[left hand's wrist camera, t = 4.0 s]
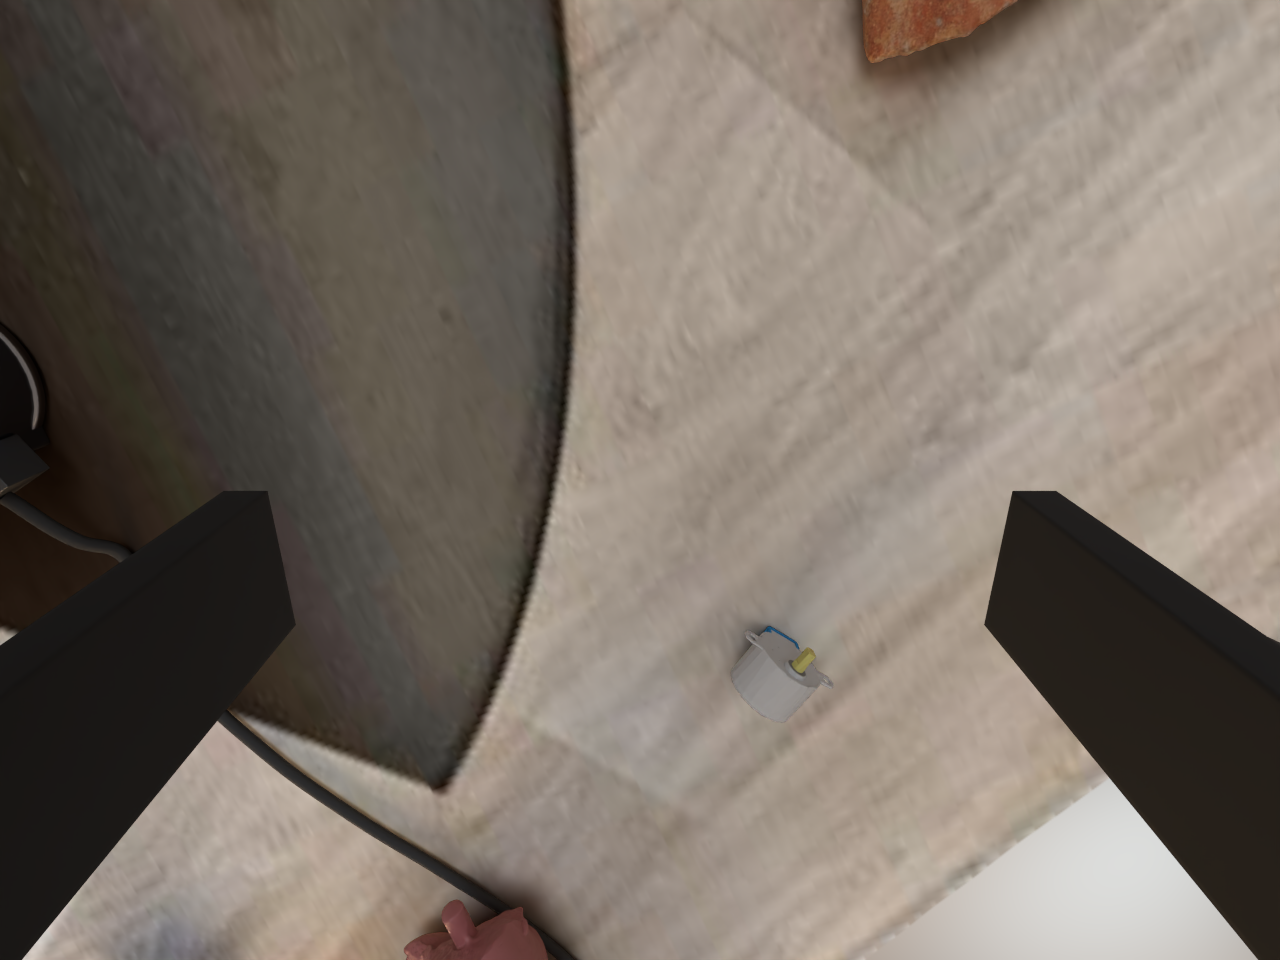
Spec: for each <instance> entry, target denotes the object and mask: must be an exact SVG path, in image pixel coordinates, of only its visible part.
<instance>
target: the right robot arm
mask: <svg viewBox="0 0 1280 960" xmlns="http://www.w3.org/2000/svg"><path fill="white" fill-rule="evenodd" d="M45 410H46V401H45V393H44V388H43V384H42V381H41V378H40V375H39V373H38V370H37V368H36V366H35V364H34V363H33V361H32V359H31V358H30V356H29V354H28V353H27V352H26V350H25V349H24V347H23V346H22V345H21V344H20V343H19V341H18V340H17V339H16V338H15V337H14V336H13V335H12V334H11V333H10V332H9V331H8V330H7V329H6V328H4V327H3V326H2V325H1V324H0V504H1V505H3V506H5V507H6V508H8V509H9V510H11V511H12V512H14V513H16V514H17V515H19V516H20V517H22V518H23V519H25V520H26V521H27V522H29V523H31V524H32V525H34V526H35V527H37V528H38V529H40V530H41V531H43V532H45V533H46V534H48V535H50V536H52V537H53V538H55V539H57V540H59V541H61V542H63V543H65V544H67V545H70V546H72V547H74V548H77V549H81V550H85V551H90V552H97V553H104V554H108V555H110V556H112V557H114V558H115V559H116V560H117V561H118V562H119V563H120V562H122V561H123V560H125V559H126V558H128V557H129V556H131V555H132V553H131V552H130V551H129V550H128V549H126V548H125V547H124V546H122V545H120V544H118V543H115V542H111V541H107V540H101V539H94V538H89V537H86V536H83V535H81V534H79V533H77V532H74V531H73V530H71V529H69V528H67V527H65V526H63V525H62V524H60V523H58V522H57V521H55V520H53V519H52V518H50V517H49V516H47V515H46V514H44V513H43V512H41V511H40V510H38V509H37V508H35V507H34V506H33V505H31V504H30V503H28V502H27V501H25V500H24V499H22V498H21V497H19V496H18V495H16V494H14V493H15V492H16V491H18V490H19V489H21V488H22V487H24V486H25V485H27V484H28V483H29V482H31V481H32V480H34V479H35V478H37V477H38V476H39V475H41V474H42V473H44V472H45V471H47V470H48V469H49V466H48V465H47V464H46V463H45V462H44V461H43V460H42V459H41V458H40V457H39V456H38V455H37V454H36V453H35V452H34V451H35V450H37V449H40V448H42V447H45V446H47V445H49V443H50V441H49V439H48V437H47V435H46V433H45V432H44V429H43V426H42V424H43V421H44V417H45ZM217 721H218V722H219V723H221V724H222V725H223V726H224V727H225V728H226V729H227V730H229V731H230V732H231V733H232V734H233V735H234V736H235V737H237V738H238V739H239V740H240V741H241V742H243V743H244V744H245V745H246V746H247V747H249V748H250V749H251V750H252V751H253V752H254V753H256V754H257V755H258V756H259V757H260V758H262V759H263V760H264V761H265V762H266V763H268V764H269V765H270V766H271V767H273V768H274V769H275V770H276V771H278V772H279V773H280V774H282V775H283V776H284V777H286V778H287V779H288V780H290V781H291V782H292V783H294V784H295V785H296V786H298V787H299V788H301V789H302V790H303V791H305V792H306V793H308V794H309V795H311V796H312V797H314V798H315V799H316V800H318V801H319V802H321V803H322V804H324V805H325V806H327V807H328V808H330V809H331V810H333V811H334V812H336V813H337V814H339V815H340V816H342V817H343V818H345V819H346V820H348V821H349V822H351V823H352V824H354V825H355V826H357V827H359V828H360V829H362V830H363V831H365V832H366V833H368V834H370V835H371V836H373V837H374V838H376V839H378V840H379V841H381V842H383V843H384V844H386V845H388V846H389V847H391V848H393V849H394V850H396V851H398V852H399V853H401V854H403V855H404V856H406V857H408V858H410V859H411V860H413V861H415V862H416V863H418V864H420V865H421V866H423V867H424V868H426V869H428V870H429V871H431V872H433V873H434V874H436V875H437V876H439V877H441V878H442V879H444V880H445V881H447V882H448V883H450V884H452V885H453V886H455V887H456V888H458V889H460V890H461V891H463V892H465V893H466V894H468V895H469V896H471V897H473V898H474V899H476V900H477V901H479V902H481V903H482V904H484V905H485V906H487V907H488V908H490V909H492V910H493V911H495V912H496V913H498V914H501V913H502V912H504V911H507V910H513V909H512V908H510V907H509V906H508V905H506V904H505V903H503V902H502V901H500V900H499V899H497V898H496V897H494V896H493V895H491V894H490V893H488V892H486V891H485V890H483V889H482V888H480V887H479V886H477V885H475V884H474V883H472V882H471V881H469V880H467V879H466V878H464V877H463V876H461V875H459V874H458V873H456V872H455V871H453V870H452V869H450V868H448V867H447V866H445V865H444V864H442V863H440V862H439V861H437V860H436V859H434V858H433V857H431V856H429V855H428V854H426V853H424V852H423V851H421V850H419V849H418V848H416V847H414V846H413V845H411V844H409V843H408V842H406V841H404V840H403V839H401V838H399V837H398V836H396V835H394V834H393V833H391V832H389V831H388V830H386V829H385V828H383V827H381V826H380V825H378V824H377V823H375V822H373V821H372V820H370V819H369V818H367V817H366V816H364V815H363V814H361V813H360V812H358V811H357V810H355V809H354V808H352V807H351V806H349V805H348V804H346V803H345V802H343V801H342V800H340V799H339V798H337V797H336V796H334V795H333V794H331V793H330V792H328V791H327V790H326V789H324V788H323V787H321V786H320V785H318V784H317V783H315V782H314V781H313V780H311V779H310V778H308V777H307V776H306V775H304V774H303V773H302V772H300V771H299V770H298V769H296V768H295V767H294V766H292V765H291V764H290V763H288V762H287V761H286V760H285V759H283V758H282V757H281V756H280V755H278V754H277V753H276V752H275V751H274V750H272V749H271V748H270V747H269V746H268V745H267V744H265V743H264V742H263V741H262V740H261V739H259V738H258V737H257V736H256V735H255V734H254V733H252V732H251V731H250V730H249V729H248V728H247V727H245V726H244V725H243V724H242V723H241V722H240V721H239V720H237V719H236V718H235V717H234V716H233V715H232V714H231V713H230V712H229V711H227V710H226V711H225V712H224V713H223V714H222V715H221V717H220V718H219V719H218V720H217ZM526 920H527V919H526ZM527 922H528V925H530V926H532V927H533V928H534V929H535V930H536V931H537V932H538V934H539V935H540V937H541V939H542V941H543V943H544V946H545V949H546V950H547V951H548V952H549V953H551V954H552V955H553V956H554V957H555V958H556V959H558V960H575V959H574V958H573V957H572V956H570V955H569V954H568V953H567V952H566V951H565V950H564V949H563V948H562V947H561V946H559V945H558V944H557V943H556V942H555V941H553V940H552V939H551V938H550V937H549V936H547V935H546V934H545V933H544V932H542V931H541V930H540V929H538V928H537V927H536V926H535V925H533V924H532V923H531V922H529V921H528V920H527Z"/></svg>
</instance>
